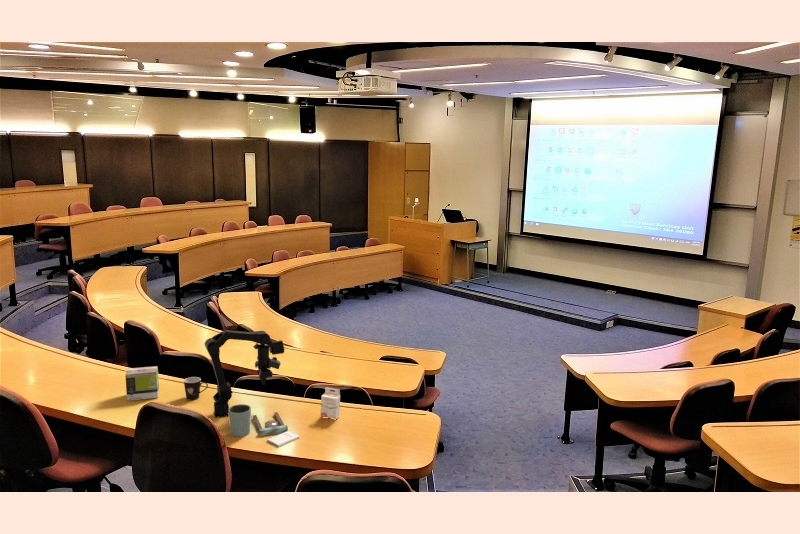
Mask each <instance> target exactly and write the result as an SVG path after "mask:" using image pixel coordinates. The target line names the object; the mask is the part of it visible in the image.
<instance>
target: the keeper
mask: <svg viewBox="0 0 800 534" xmlns="http://www.w3.org/2000/svg"><path fill="white" fill-rule="evenodd" d="M277 426H279V423H278V421H277V420H268V421H265V422H264V428H270V427H277Z"/></svg>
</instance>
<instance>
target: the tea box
mask: <svg viewBox="0 0 800 534" xmlns="http://www.w3.org/2000/svg"><path fill="white" fill-rule="evenodd" d="M125 387H126V388H125V392H126V393H125V394H126V401H138V400H148V399H149V400H150V399H158V398H159V394H160V393H159V392H160V384H159V368H158V366H157V365H155V366H144V367H143V366H141V367H131V368H127V370H126V372H125Z"/></svg>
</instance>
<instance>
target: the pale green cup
mask: <svg viewBox="0 0 800 534" xmlns="http://www.w3.org/2000/svg"><path fill="white" fill-rule="evenodd" d="M251 408H252V407H251V406H250V405H249V404H244V403H243V404H235V405H231V406H229V410H228V411H229V413H228V417H229V418H228V419H229V428H230V435H231V436H232V437H236V438H241V437H245V436H246V437H247V436H248V435H249V434H250V433H251V414H252V413H251V412H252V409H251Z"/></svg>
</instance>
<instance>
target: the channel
mask: <svg viewBox="0 0 800 534" xmlns="http://www.w3.org/2000/svg"><path fill="white" fill-rule="evenodd" d="M273 415H275V416H274V417H275V419H276V421H277V422H278V426H277V427H270V428H265V427H264V428H263V427H262V425H261V423H260V421H259V420H260V419H259V418H258V416H257V414H254V415H252V419H253V422H254V421H255V422H254V424H255V426H256V427H257V428H256V429H257V431H258V434H259V437H262V436H269V435H276V434H282V433H284V432H287V431H289V430H288V428H289V426H288V425H287V424H285V423H284V421H283V419H282V417H281V416H280V414H279V412H278V411H275V412H274V413H273Z"/></svg>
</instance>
